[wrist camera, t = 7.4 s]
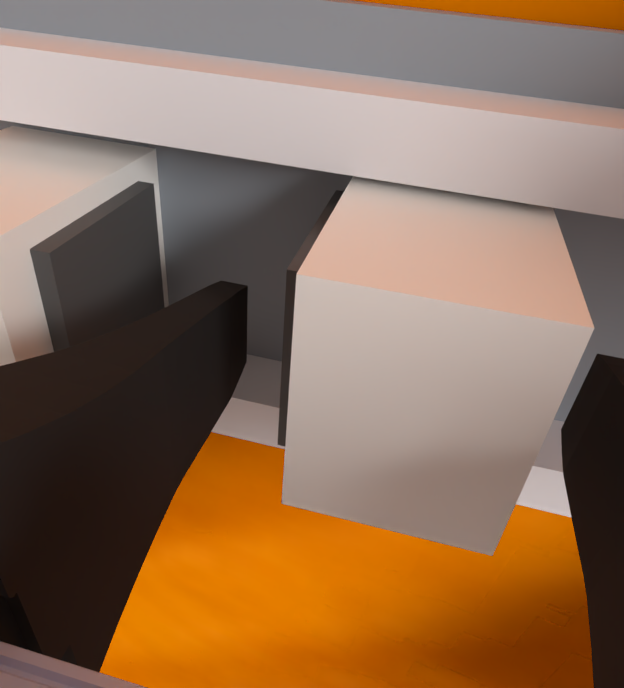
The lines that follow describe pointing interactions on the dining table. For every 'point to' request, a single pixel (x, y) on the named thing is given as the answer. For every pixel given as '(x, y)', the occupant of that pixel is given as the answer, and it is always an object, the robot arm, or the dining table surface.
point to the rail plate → (284, 160)
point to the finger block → (425, 358)
